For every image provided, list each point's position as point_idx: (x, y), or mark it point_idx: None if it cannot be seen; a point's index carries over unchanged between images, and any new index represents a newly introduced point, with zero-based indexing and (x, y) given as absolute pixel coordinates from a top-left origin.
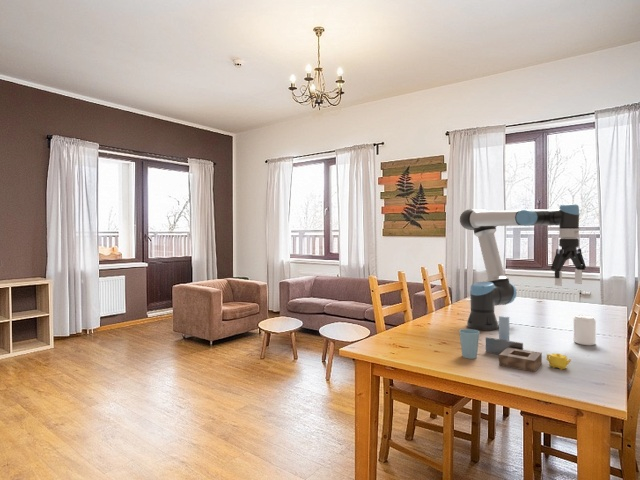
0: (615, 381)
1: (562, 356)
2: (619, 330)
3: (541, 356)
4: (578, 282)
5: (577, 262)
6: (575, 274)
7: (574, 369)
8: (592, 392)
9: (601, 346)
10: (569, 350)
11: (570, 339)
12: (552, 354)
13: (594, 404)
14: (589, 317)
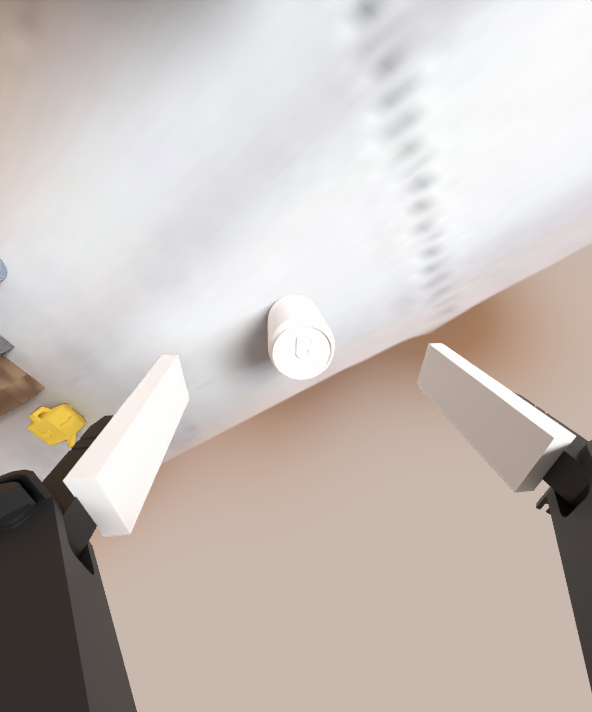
0: None
1: (56, 438)
2: (530, 267)
3: (29, 398)
4: (427, 375)
5: (586, 652)
6: (489, 395)
7: None
8: None
9: None
10: (195, 346)
11: (298, 274)
12: (39, 423)
13: None
14: (315, 361)
